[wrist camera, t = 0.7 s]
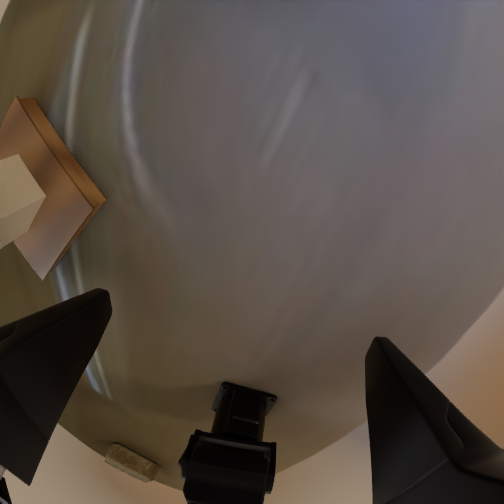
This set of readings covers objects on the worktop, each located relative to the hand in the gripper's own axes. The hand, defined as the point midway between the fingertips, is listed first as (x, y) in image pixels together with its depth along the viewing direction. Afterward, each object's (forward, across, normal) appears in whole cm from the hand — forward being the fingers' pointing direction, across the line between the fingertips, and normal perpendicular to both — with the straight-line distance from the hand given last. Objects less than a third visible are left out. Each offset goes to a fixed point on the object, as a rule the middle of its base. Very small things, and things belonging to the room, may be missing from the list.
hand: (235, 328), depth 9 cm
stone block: (+14, +21, +58) cm, 63 cm away
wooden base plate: (+14, +23, 0) cm, 26 cm away
